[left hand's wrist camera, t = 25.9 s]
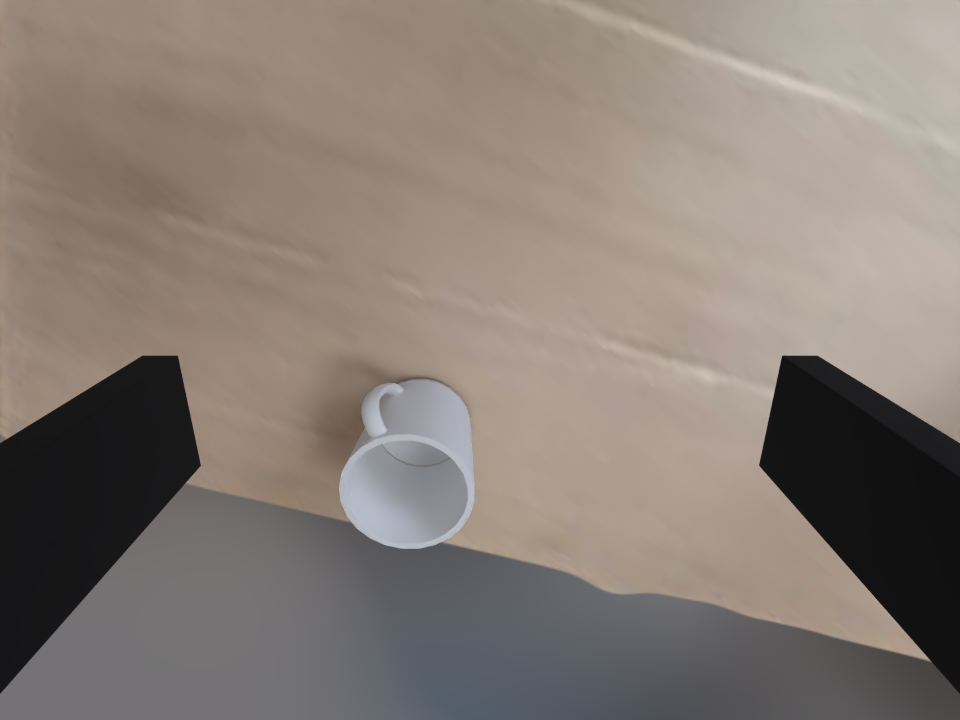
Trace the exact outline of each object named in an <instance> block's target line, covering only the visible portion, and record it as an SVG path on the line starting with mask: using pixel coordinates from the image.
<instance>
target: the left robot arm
mask: <svg viewBox="0 0 960 720" xmlns="http://www.w3.org/2000/svg"><path fill="white" fill-rule="evenodd" d="M200 466H201V464H200V459H199V454H198V450H197V445H196V440H195V435H194V431H193V426H192V421H191V416H190V412H189V407H188V402H187V397H186V393H185V388H184V383H183V378H182V373H181V369H180V364H179V359H178V356H141V357H140V358H138V359H136V360H135V361H133V362H132V363H130V364H128V365H127V366H125V367H123V368H122V369H120V370H119V371H117V372H115V373H114V374H112V375H110V376H109V377H107V378H106V379H104V380H102V381H101V382H99V383H97V384H96V385H94V386H93V387H91V388H89V389H88V390H86V391H84V392H83V393H81V394H80V395H78V396H76V397H75V398H73V399H71V400H70V401H68V402H67V403H65V404H63V405H62V406H60V407H58V408H57V409H55V410H54V411H52V412H50V413H49V414H47V415H45V416H44V417H42V418H41V419H39V420H37V421H36V422H34V423H32V424H31V425H29V426H28V427H26V428H24V429H23V430H21V431H19V432H18V433H16V434H14V435H13V436H11V437H10V438H8V439H6V440H5V441H3V442H2V443H0V693H1V692H2V691H3V690H4V689H5V688H6V686H7V685H8V684H9V683H10V682H11V681H12V680H13V679H14V677H15V676H16V675H17V674H18V673H19V672H20V671H21V669H22V668H23V667H24V666H25V665H26V664H27V663H28V661H29V660H30V659H31V658H32V657H33V656H34V655H35V653H36V652H37V651H38V650H39V649H40V648H41V647H42V646H43V644H44V643H45V642H46V641H47V640H48V639H49V638H50V636H51V635H52V634H53V633H54V632H55V631H56V630H57V629H58V627H59V626H60V625H61V624H62V623H63V622H64V621H65V619H66V618H67V617H68V616H69V615H70V614H71V613H72V611H73V610H74V609H75V608H76V607H77V606H78V605H79V603H80V602H81V601H82V600H83V599H84V598H85V597H86V596H87V594H88V593H89V592H90V591H91V590H92V589H93V588H94V586H95V585H96V584H97V583H98V582H99V581H100V580H101V579H102V577H103V576H104V575H105V574H106V573H107V572H108V570H109V569H110V568H111V567H112V566H113V565H114V564H115V563H116V561H117V560H118V559H119V558H120V557H121V556H122V555H123V553H124V552H125V551H126V550H127V549H128V548H129V547H130V546H131V544H132V543H133V542H134V541H135V540H136V539H137V538H138V536H139V535H140V534H141V533H142V532H143V531H144V530H145V528H146V527H147V526H148V525H149V524H150V523H151V522H152V521H153V519H154V518H155V517H156V516H157V515H158V514H159V513H160V511H161V510H162V509H163V508H164V507H165V506H166V505H167V503H168V502H169V501H170V500H171V499H172V498H173V497H174V496H175V494H176V493H177V492H178V491H179V490H180V489H181V488H182V486H183V485H184V484H185V483H186V482H187V481H188V480H189V478H190V477H191V476H192V475H193V474H194V473H195V472H196V471H197V469H198V468H199V467H200ZM759 466H760V467H761V468H762V469H763V471H764V472H765V473H766V474H767V475H768V476H769V477H770V478H771V480H772V481H773V482H774V483H775V484H776V485H777V486H778V488H779V489H780V490H781V491H782V492H783V493H784V494H785V496H786V497H787V498H788V499H789V500H790V501H791V502H792V503H793V505H794V506H795V507H796V508H797V509H798V510H799V511H800V513H801V514H802V515H803V516H804V517H805V518H806V519H807V521H808V522H809V523H810V524H811V525H812V526H813V527H814V528H815V530H816V531H817V532H818V533H819V534H820V535H821V536H822V538H823V539H824V540H825V541H826V542H827V543H828V544H829V546H830V547H831V548H832V549H833V550H834V551H835V552H836V553H837V555H838V556H839V557H840V558H841V559H842V560H843V561H844V563H845V564H846V565H847V566H848V567H849V568H850V569H851V571H852V572H853V573H854V574H855V575H856V576H857V577H858V579H859V580H860V581H861V582H862V583H863V584H864V585H865V586H866V588H867V589H868V590H869V591H870V592H871V593H872V594H873V596H874V597H875V598H876V599H877V600H878V601H879V602H880V604H881V605H882V606H883V607H884V608H885V609H886V610H887V611H888V613H889V614H890V615H891V616H892V617H893V618H894V619H895V621H896V622H897V623H898V624H899V625H900V626H901V627H902V629H903V630H904V631H905V632H906V633H907V634H908V635H909V636H910V638H911V639H912V640H913V641H914V642H915V643H916V644H917V646H918V647H919V648H920V649H921V650H922V651H923V652H924V654H925V655H926V656H927V657H928V658H929V659H930V660H931V661H932V663H933V664H934V665H935V666H936V667H937V668H938V669H939V671H940V672H941V673H942V674H943V675H944V676H945V677H946V679H947V680H948V681H949V682H950V683H951V684H952V685H953V687H954V688H955V689H956V690H957V691H958V692H959V693H960V443H959V442H957V441H955V440H954V439H952V438H950V437H949V436H947V435H945V434H944V433H942V432H941V431H939V430H937V429H936V428H934V427H932V426H931V425H929V424H928V423H926V422H924V421H923V420H921V419H919V418H918V417H916V416H915V415H913V414H911V413H910V412H908V411H906V410H905V409H903V408H902V407H900V406H898V405H897V404H895V403H893V402H892V401H890V400H889V399H887V398H885V397H884V396H882V395H880V394H879V393H877V392H876V391H874V390H872V389H871V388H869V387H867V386H866V385H864V384H863V383H861V382H859V381H858V380H856V379H854V378H853V377H851V376H850V375H848V374H846V373H845V372H843V371H841V370H840V369H838V368H837V367H835V366H833V365H832V364H830V363H828V362H827V361H825V360H824V359H822V358H820V357H819V356H782V359H781V364H780V369H779V373H778V378H777V383H776V388H775V393H774V397H773V402H772V407H771V412H770V416H769V421H768V426H767V431H766V435H765V440H764V445H763V450H762V454H761V459H760V464H759Z"/></svg>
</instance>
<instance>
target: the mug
mask: <svg viewBox="0 0 960 720" xmlns="http://www.w3.org/2000/svg"><path fill="white" fill-rule="evenodd" d="M361 415H362V419H363V423H364V426H365V428H364V430H363V432H362V434H361V436H360V438H359V440H358V442H357V443H356V445H355V447H354V449H353V451H352V453H351V455H350V457H349V459H348V461H347V463H346V465H345V466H344V468H343V470H342V474H341V479H340V484H339V492H340V500H341V504H342V506H343V508H344V511H345V513H346V515H347V517H348V518H349V519H350V520H351V522H352V523H353V524H354V525H355V527H356V528H357V529H358V530H360V531H361V532H362V533H364V534H365V535H366V536H368V537H369V538H371V539H373V540H375V541H377V542H380V543H382V544H384V545H388V546H392V547H397V548H402V549H403V548H404V549H408V548H423V547H427V546H432V545H436V544H438V543H440V542H442V541H444V540H446V539H448V538H450V537H451V536H452V535H453V534H455V533H456V532H457V531H458V530H459V529H461V528H462V526H463V525H464V523H465V522H466V520H467V519H468V517H469V516H470V513H471V510H472V507H473V504H474V473H473V457H472V441H471V426H470V415H469V412H468V409H467V406H466V404H465V403H464V401H463V400H462V398H461V397H460V396H459V395H458V394H457V393H456V392H455V391H454V390H453V389H452V388H450V387H448V386H447V385H445V384H443V383H441V382H438V381H434V380H430V379H410V380H406V381H402V382H400V383H398V384H396V383H384V384H381V385H378V386H376V387H375V388H373V389H372V390H371V391H370V392H368V393H367V395H366V397H365V398H364V400H363V402H362V407H361Z"/></svg>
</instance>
